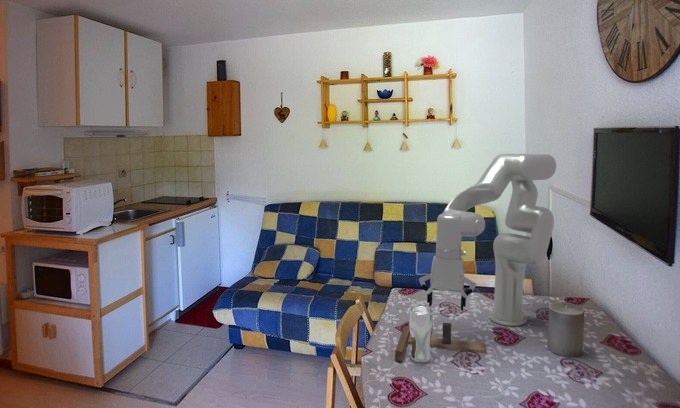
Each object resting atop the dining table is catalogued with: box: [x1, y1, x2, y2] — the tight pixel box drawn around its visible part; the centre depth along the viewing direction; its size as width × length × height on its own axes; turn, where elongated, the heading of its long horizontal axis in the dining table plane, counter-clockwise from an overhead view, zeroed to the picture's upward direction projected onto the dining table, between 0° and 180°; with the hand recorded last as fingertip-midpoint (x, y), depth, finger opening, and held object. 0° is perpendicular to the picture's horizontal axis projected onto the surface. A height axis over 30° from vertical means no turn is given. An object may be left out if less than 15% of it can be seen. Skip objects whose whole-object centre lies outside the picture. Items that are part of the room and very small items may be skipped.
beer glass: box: [408, 305, 434, 363], centre depth 130 cm, size 7×7×15 cm
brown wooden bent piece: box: [394, 322, 487, 362], centre depth 133 cm, size 26×18×7 cm
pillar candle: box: [547, 301, 585, 358], centre depth 134 cm, size 10×10×15 cm
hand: (446, 306), depth 137 cm, fingers open, 9 cm apart
